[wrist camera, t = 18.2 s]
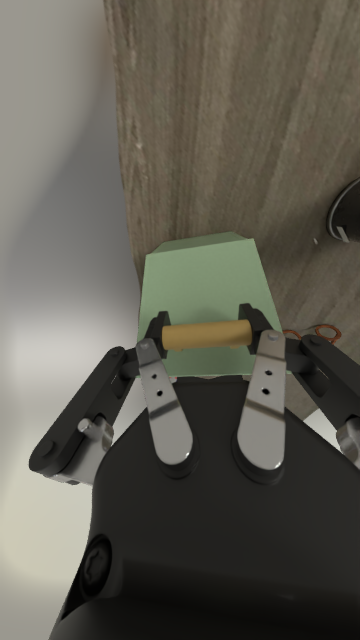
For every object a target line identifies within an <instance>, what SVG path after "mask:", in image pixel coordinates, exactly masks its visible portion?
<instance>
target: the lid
mask: <svg viewBox="0 0 360 640" xmlns="http://www.w3.org/2000/svg"><path fill="white" fill-rule="evenodd" d="M244 303H250V305H251V306H252V308H253V309H254V308H257V309H259V310H260V311H262V313H263V314H264V316H265V317H266V319H267V320H268V321H269V323H270V324H271V326H272V327H273V329H274V330H276V331H279V332H281V333H283V332H282V329H281V326H280V322H279V319H278V316H277V313H276V309H275V306H274V303H273V300H272V297H271V293H270V290H269V287H268V284H267V281H266V277H265V274H264V271H263V268H262V265H261V261H260V258H259V255H258V252H257V249H256V245H255V242H254V239H253V238H252V239H246V240H239V241H233V242H226V243H220V244H213V245H207V246H200V247H194V248H187V249H180V250H174V251H167V252H161V253H154V254H148V255H146V261H145V270H144V280H143V289H142V299H141V308H140V318H139V327H138V337H137V343H138V342H139V341H140V340H142V339H144V336H145V334H146V331H147V329H148V326H149V323H150V321H151V320H152V319H153V318H154V317H157V316H158V313H159V311H168V314H169V318H170V322H171V325H169V326H164V327H163V329H162V344H163V347H164V349H165V350H168V353H167V359H162V361H163V364H164V366H165V369H166V371H167V374H168V376H169V377H183V376H223V375H251V374H252V370H253V366H254V361H255V357H256V355H250V353H249V350H248V348H247V345H251V343H252V329H251V325H250V323H249V321H248V320H247V319H244V320H238V313H239V304H244ZM290 373H292V372H291V371H288V370H286V374H290ZM136 378H141V376H140V375H138V376H136Z"/></svg>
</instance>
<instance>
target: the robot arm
mask: <svg viewBox="0 0 360 640" xmlns="http://www.w3.org/2000/svg"><path fill="white" fill-rule="evenodd" d="M327 230H328V232H329V234H330V235H331V236H332V237H333V238H335V239H339V240H343V241H344V242H348V243H350V242H349V241H354V242H359V243H360V178H358V179H357V180H355V181H354V182H352V183H351V184H350V185H349V186H347V187H346V188H345V189H344V190H343V191H342V192H341V193H340V195H339V196H338V197H337V198H336V200H335V201H334V203H333V205H332V206H331V208H330V211H329V213H328V217H327ZM244 319H247V320H248V321H249V323H250V325H251V329H252V343H251V345H247V348H248V350H249V353H250V355H256V357H255V361H254V366H253V370H252V374H251V378H250V382H249V381H246V380H243V378H242V375H224V376H220V377H216V378H213V379H203V378H199V377H194V376H183V377H177V382H174V383H171V381H170V378H169V376H168V374H167V371H166V369H165V366H164V364H163V361H162V359H167V353H168V350H165V349H164V347H163V344H162V329H163V327H164V326H169V325H171V322H170V318H169V314H168V311H159V313H158V316H157V317H154V318H153V319H152V320H151V321H150V323H149V326H148V329H147V331H146V334H145V336H144V339H142V340H140V341H139V342H138V343H137V344H136V347H135V348H132V349H128V350H125V349H124V348H123V347H121V346H118V347H115V348H112V349H110V350H109V351H108V352H107V354H106V355H105V356H104V357H103V359H102V360H101V361H100V363H99V364H98V365H97V367H96V368H95V369H94V371H93V372H92V373H91V374H90V376H89V377H88V379H87V380H86V381H85V383H84V384H83V385H82V386H81V388H80V389H79V390H78V392H77V393H76V394H75V396H74V397H73V398H72V400H71V401H70V402H69V404H68V405H67V406H66V408H65V409H64V410H63V412H62V413H61V414H60V415H59V417H58V418H57V420H56V421H55V422H54V424H53V425H52V426H51V427H50V429H49V430H48V431H47V433H46V434H45V435H44V437H43V438H42V439H41V441H40V442H39V443H38V445H37V446H36V447H35V449H34V450H33V452H32V454H31V456H30V459H29V468H30V470H32V471H34V472H37V473H40V474H43V475H44V476H45V477H47V478H50V479H53V480H56V481H59V482H63V483H64V482H65V483H69V484H71V485H77V484H79V483H84V484H87V485H90V486H93V489H92V517H91V524H90V531H89V536H88V541H87V545H86V549H85V552H84V555H83V558H82V561H81V563H80V566H79V568H78V571H77V574H76V576H75V578H74V581H73V583H72V585H71V588H70V590H69V592H68V595H67V597H66V599H65V602H64V604H63V606H62V609H61V611H60V613H59V616H58V618H57V620H56V623H55V625H54V627H53V630H52V632H51V635H50V637H49V640H360V366H359V365H358V364H357V363H356V362H354V361H353V360H352V359H351V358H349V357H348V356H347V355H345V354H344V353H343V352H342V351H340V350H339V349H338V348H337V347H335V346H334V345H333V344H332V343H330V342H329V341H328V340H326V339H325V338H323V337H320V336H317V335H304V336H303V337H302V338H301V340H296V339H289V338H286V337H285V335H284V334H283V333H281V332H279V331H276V330H274V329H273V327H272V326H271V324H270V323H269V321H268V320H267V319H266V317H265V316H264V314H263V313H262V311H260V310H259V309H257V308H254V309H253V308H252V306H251V305H250V303H244V304H239V313H238V320H244ZM319 369H320V370H321V371H322V372H323V373H324V374H325V375H326V376H327V377H328V378H329V379H328V378H327V377H326V376H325V375H324V374H323V373H322V372H321V371H320V370H319ZM286 370H288V371H291V372H292V374H293V375H294V376H295V378H296V379H297V380H298V381H299V383H300V384H301V385H302V387H303V388H304V389H305V390H306V392H307V393H308V394H309V396H310V397H311V398H312V399H313V401H314V402H315V403H316V404H317V406H318V407H319V408H320V409H321V411H322V412H323V413H324V415H325V416H326V417H327V419H328V420H329V421H330V422H331V424H332V425H333V426H334V427H335V429H336V430H337V432H336V439H337V441H338V444H339V445H340V449H341V451H342V453H343V454H342V453H341V452H340V451H339V450H337V449H336V448H335V447H334V446H332V445H331V444H330V443H329V442H328V441H326V440H325V439H324V438H323V437H321V436H320V435H319V434H318V433H316V432H315V431H314V430H313V429H312V428H310V427H309V426H308V425H307V424H305V423H304V422H303V421H302V420H301V419H299V418H298V417H297V416H296V415H294V414H293V413H292V412H291V411H290V410H288V409H287V408H286V407H285V385H286ZM138 375H140V376H141V380H142V385H143V390H144V394H145V399H146V403H147V407H146V408H145V409H144V411H143V412H142V413H141V414H140V415H139V416H138V417H137V418H136V420H135V421H134V422H133V423H132V424H131V425H130V426H129V427H128V428H127V429H126V431H125V432H124V433H123V434H122V435H121V436H120V437H119V438H118V440H117V441H116V442H115V443H114V444H113V445H112V446H111V444H112V439H113V435H114V430H113V428H112V426H113V424H114V422H115V420H116V417H117V416H118V413H119V411H120V409H121V407H122V405H123V403H124V401H125V399H126V396H127V395H128V393H129V391H130V388H131V386H132V384H133V382H134V380H135V378H136V376H138ZM115 376H116V377H115ZM114 378H115V379H114ZM112 381H113V382H112ZM111 383H112V384H111Z"/></svg>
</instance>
